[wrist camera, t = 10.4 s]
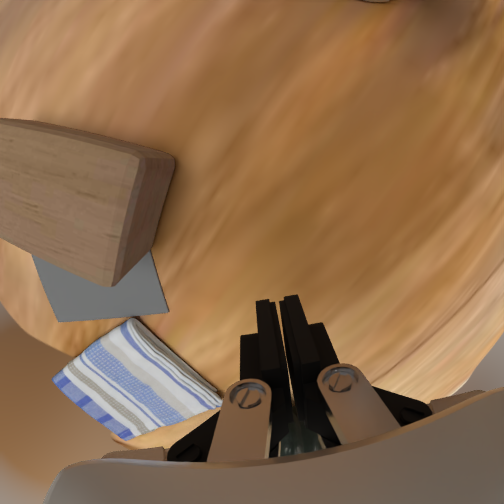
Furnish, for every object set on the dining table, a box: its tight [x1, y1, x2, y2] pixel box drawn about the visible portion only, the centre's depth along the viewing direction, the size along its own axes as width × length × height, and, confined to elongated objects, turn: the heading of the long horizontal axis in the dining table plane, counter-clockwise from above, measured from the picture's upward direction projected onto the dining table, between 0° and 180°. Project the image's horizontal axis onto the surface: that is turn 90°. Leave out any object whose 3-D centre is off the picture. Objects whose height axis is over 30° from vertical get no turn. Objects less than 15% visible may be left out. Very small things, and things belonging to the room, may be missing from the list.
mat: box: [32, 250, 169, 322], centre depth 28 cm, size 17×16×1 cm
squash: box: [280, 406, 323, 457], centre depth 32 cm, size 14×15×15 cm
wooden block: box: [0, 118, 175, 287], centre depth 20 cm, size 10×10×20 cm
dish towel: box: [52, 318, 223, 441], centre depth 34 cm, size 17×24×3 cm
